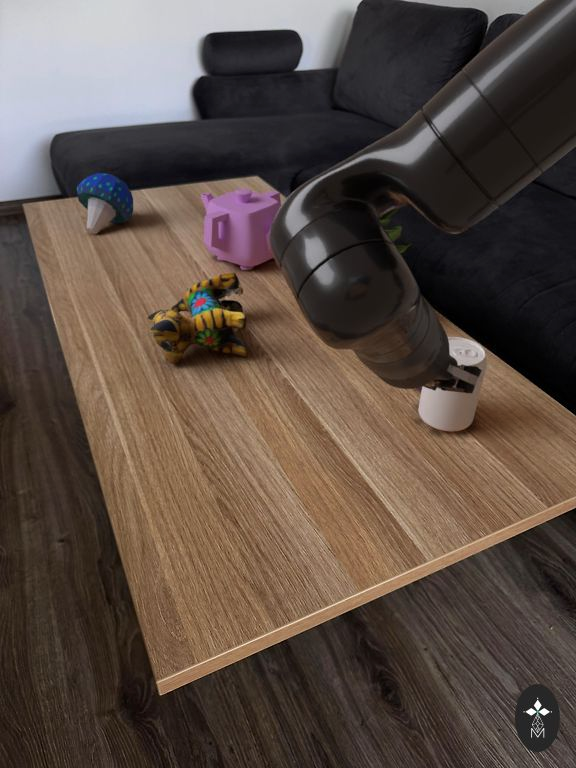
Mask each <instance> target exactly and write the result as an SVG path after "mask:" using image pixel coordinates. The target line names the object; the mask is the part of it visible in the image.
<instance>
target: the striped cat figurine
mask: <svg viewBox="0 0 576 768" xmlns="http://www.w3.org/2000/svg"><path fill="white" fill-rule="evenodd" d="M232 294H235V295H236V296H237V295H238V297H240V296H241V295H242V294H244V288H243V286H242V283H241V281H240V279H239V277H238V276H237V274H236V272H233V271H230V272H227V273H223V274H219V275H216V276H214V277H212V278H210V279H209V278H208V279H205V280H202V281H199V282H197V283H195V284H193V285H192V286H191V287H190V288H189V289H188V291H187V292H186V294H185V295H184V296H183V297H182V298H181V299H180V300H178V302H176V303H175V304H173V305H172V306H171V307H170V309H165V310H164V309H160V310H157V311H155V312H153V313H151V314H150V315H149V316H147V318H146V319H147V321H149V322H151V323H153V325H152V327H151V328H150V330H149V333H150V334H152V335H153V340H154V341H155V343H156V344H157V345H158V346H159V347H160V348H162V350H163V352H164V359H165V360H166V361H167V362H168V363H169V364H171V365H176V364H178V363H179V362H180V360H181V359H182V358H183V356H184V354H185V353H186V351H187V350H188V349H189V348H190V346H192V345H197V346H201V347H204V348H206V349H210V350H212V351H215V352H221V353H224V354H231V355H237V356H240V357H243V358H246V357H247V356H248V348H247V344H246V343H245V342H244V341H243V340H242V339H240V338H239V337H238V336H236V334H235V333H234V332H237V331H238V330H240V331H241V330H244V329H245V328H246V326H247V316H246V314H245V313H244V308H243V306H242V304H241V302H239V301H237V300H234V299H233V300H232V299H223V298H226V297H228V298H230V297H231V296H232ZM221 299H222V300H221ZM181 312H187V313H189V314H190V316H191V317H187V316H185V315H184V314H182V313H181Z"/></svg>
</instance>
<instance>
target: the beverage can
mask: <svg viewBox="0 0 576 768" xmlns="http://www.w3.org/2000/svg"><path fill="white" fill-rule="evenodd" d="M447 337H448V341H449V350H450V356H452V357H453V358H455V359H456V361H457V363H458V365H457V366H461V364H463V365H465V366H473V367H474V366H476V367H478V368H479V369H481V370H482V371H481V374H480V376H479V378H478V381H477V383H476V386H475V388H474V390H473V393H472V394H471V393H468V394H467V393H462V392H453V391H443V390H441V388H437V389H436V390H435V391H434V390H432V389H429V388H426V387H423V386H422V391H421V390H420V397H419V403H418V408H417V409H418V415H419V417H420V418H421V420H422V421H423V422H424V423H425V424H427V425H428V426H429V427H431V428H433V429H436V430H439V431H444V432H459V431H463V430H465V429H468V427H470V426H471V425H472V424H473V422H474V418H475V415H476V410H477V407H478V404H479V403H478V402H479V398H480V395H481V390H482V386H483V383H484V378H485V375H486V372H487V371H486V370H487V366H488V360H487V359H488V358H487V356H486V350H485V349H484V348H483V347H482V346H481V345H480V344H479V343H478V342H476V341H474V340H471V339H469V338H466V337H460V336H447Z"/></svg>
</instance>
